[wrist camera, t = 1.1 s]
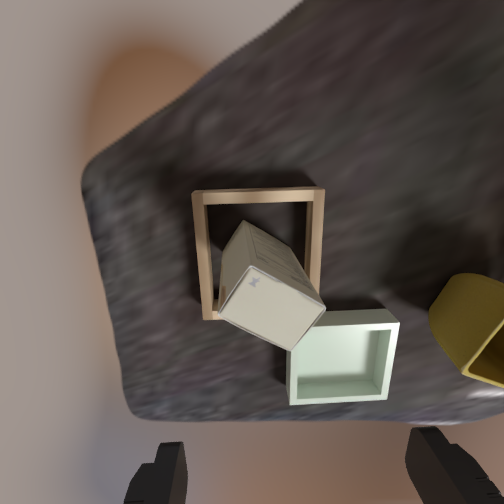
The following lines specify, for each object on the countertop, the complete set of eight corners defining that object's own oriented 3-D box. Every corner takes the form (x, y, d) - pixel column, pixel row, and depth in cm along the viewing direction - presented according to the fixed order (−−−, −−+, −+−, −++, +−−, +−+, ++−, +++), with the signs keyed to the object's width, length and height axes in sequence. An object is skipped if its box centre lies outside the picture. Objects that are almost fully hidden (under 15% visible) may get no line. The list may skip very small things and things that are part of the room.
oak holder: (317, 186, 28) (324, 189, 26) (311, 302, 32) (317, 314, 30) (195, 190, 28) (191, 193, 25) (205, 307, 32) (203, 320, 30)
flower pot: (463, 340, 35) (535, 400, 27) (404, 319, 34) (460, 374, 25) (509, 280, 33) (604, 324, 24) (447, 253, 31) (525, 291, 23)
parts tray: (386, 308, 33) (399, 322, 30) (375, 381, 37) (386, 399, 34) (287, 313, 33) (291, 327, 30) (285, 385, 36) (289, 405, 33)
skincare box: (221, 252, 30) (210, 314, 18) (243, 217, 29) (246, 261, 17) (271, 281, 31) (291, 356, 20) (294, 249, 30) (329, 309, 19)
